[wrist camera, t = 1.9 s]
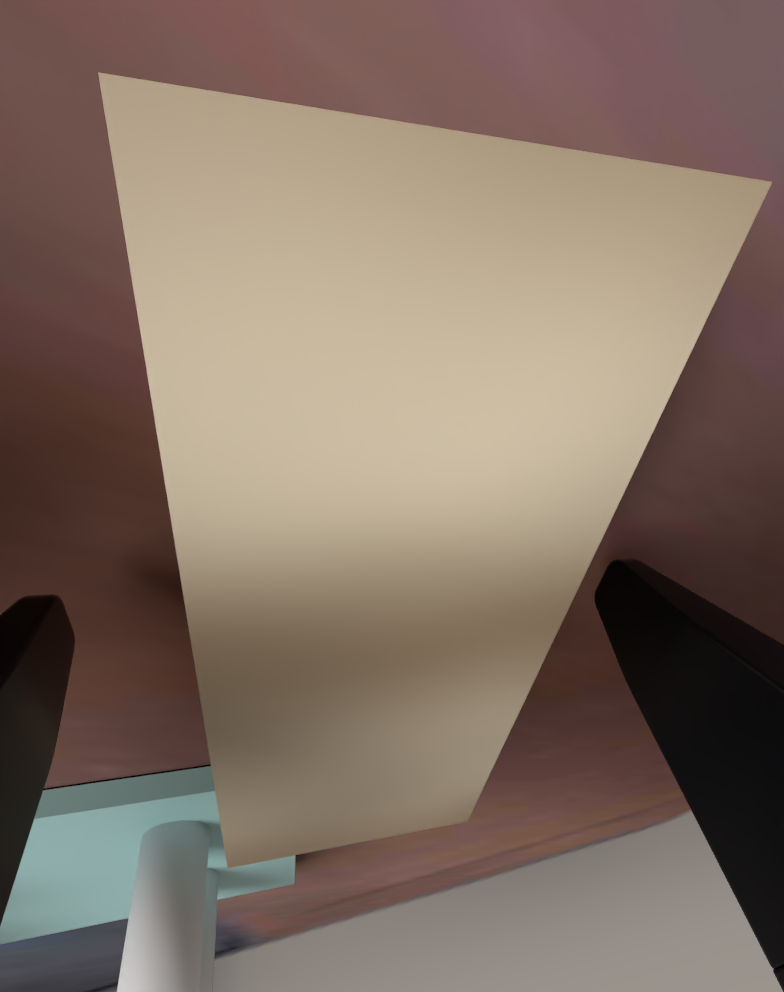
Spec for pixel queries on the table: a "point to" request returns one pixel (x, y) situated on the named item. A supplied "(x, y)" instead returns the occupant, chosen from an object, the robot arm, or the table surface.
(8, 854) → the robot arm
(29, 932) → the peg stand
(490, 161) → the board
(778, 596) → the table surface
